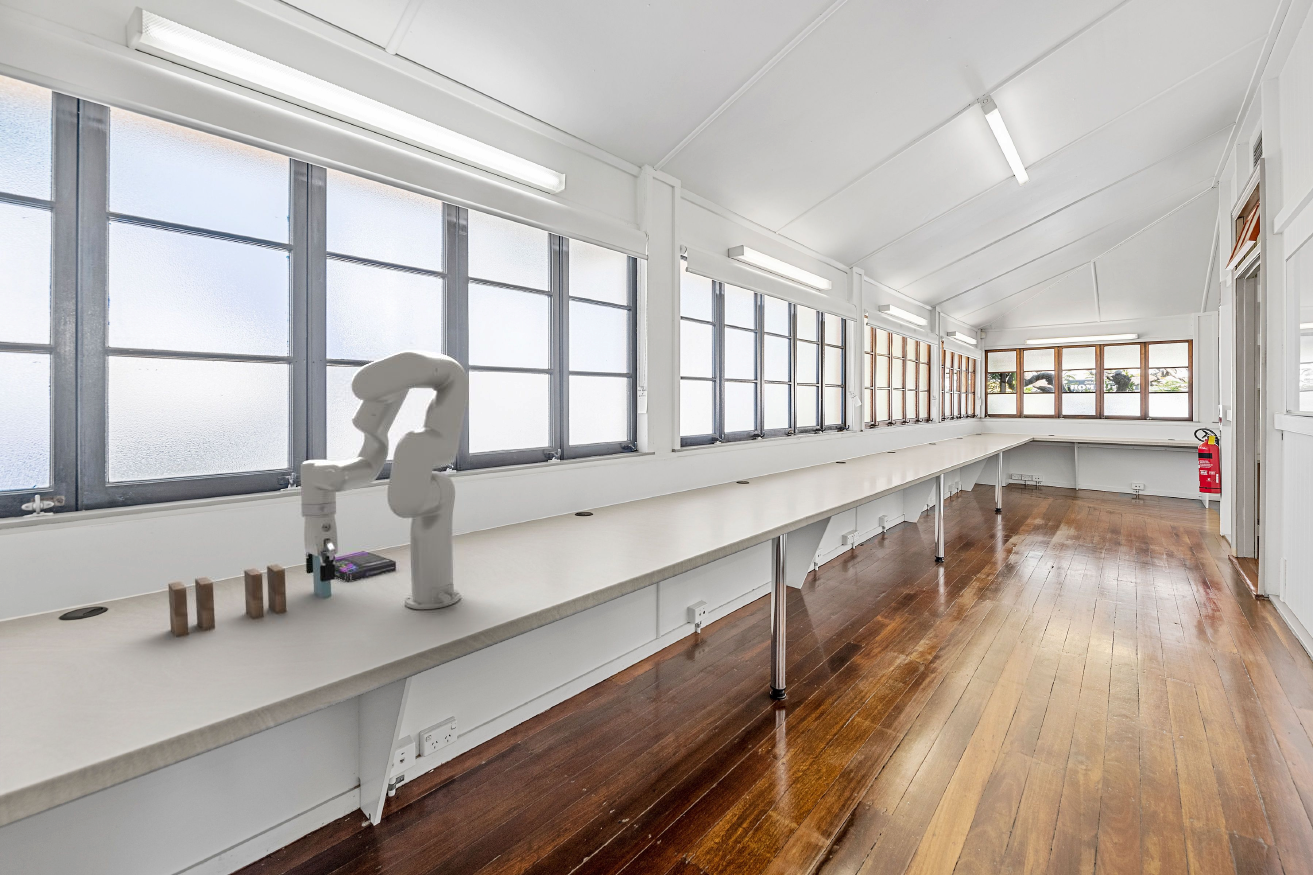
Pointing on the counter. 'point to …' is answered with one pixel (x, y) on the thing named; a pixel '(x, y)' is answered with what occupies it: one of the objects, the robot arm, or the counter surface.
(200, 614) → the domino
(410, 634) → the counter surface
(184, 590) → the domino
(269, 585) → the domino
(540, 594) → the counter surface
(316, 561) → the domino
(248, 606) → the domino
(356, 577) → the box
